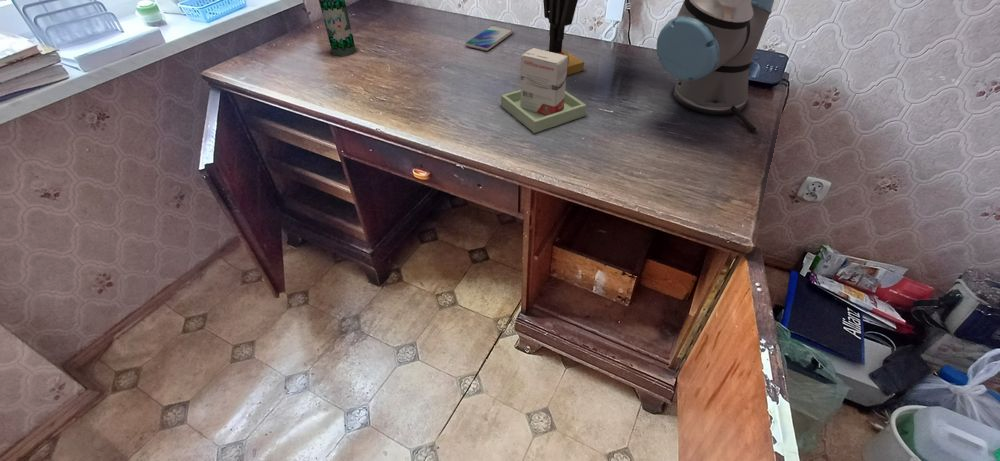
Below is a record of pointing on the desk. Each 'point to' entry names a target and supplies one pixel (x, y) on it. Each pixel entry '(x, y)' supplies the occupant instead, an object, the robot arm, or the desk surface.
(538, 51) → the ink box
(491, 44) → the smartphone
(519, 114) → the tray
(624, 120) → the desk surface
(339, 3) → the can
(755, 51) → the robot arm
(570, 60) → the power switch
